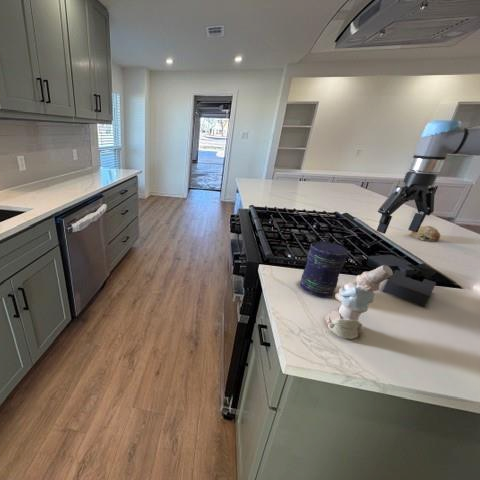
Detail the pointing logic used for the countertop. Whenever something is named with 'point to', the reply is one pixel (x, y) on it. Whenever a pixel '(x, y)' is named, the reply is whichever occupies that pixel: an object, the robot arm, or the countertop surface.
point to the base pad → (409, 288)
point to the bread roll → (427, 233)
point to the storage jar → (323, 268)
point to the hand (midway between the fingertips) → (396, 231)
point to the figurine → (356, 302)
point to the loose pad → (390, 263)
